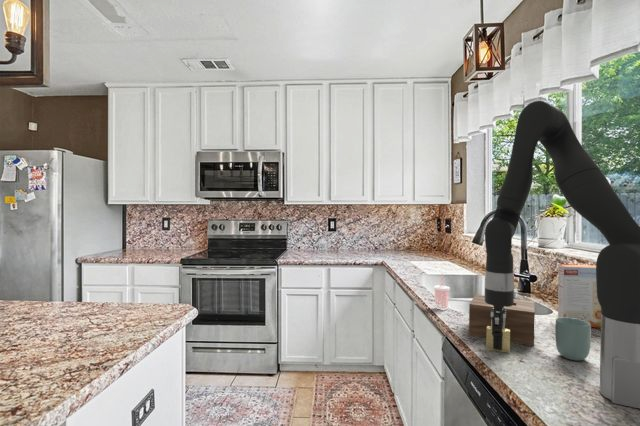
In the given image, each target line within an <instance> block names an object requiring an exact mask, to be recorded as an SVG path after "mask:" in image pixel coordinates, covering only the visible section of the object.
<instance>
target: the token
mask: <svg viewBox="0 0 640 426" xmlns="http://www.w3.org/2000/svg"><path fill="white" fill-rule="evenodd" d="M495 331H496V332H500V330H497V329H495ZM485 340H486V343H485V344H486V348H485V349H486V350H491V351H496V352H501V353H502V352H503V353H507V354H510V353H511V342H510V329H503V337H502V350H496V349H494V348H493V335H492V327H491V326H487V335H486V338H485Z"/></svg>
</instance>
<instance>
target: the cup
mask: <svg viewBox="0 0 640 426" xmlns="http://www.w3.org/2000/svg"><path fill="white" fill-rule="evenodd" d="M554 331H555V333H554V335H555V336H554V338H555V345H556V346H555V347H556V349H557V352H558V353H559V355H561V357H562V358H564V359H567V360H571V361H574V362H575V361H583V360H586V359H587V358H588V357H589V354H590V350H591V341H592V327H591V324H590V323H589V322H587V321H584V320H580V319H576V318H569V317H560V318H558V317H557V318H556V319H555V330H554Z"/></svg>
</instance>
